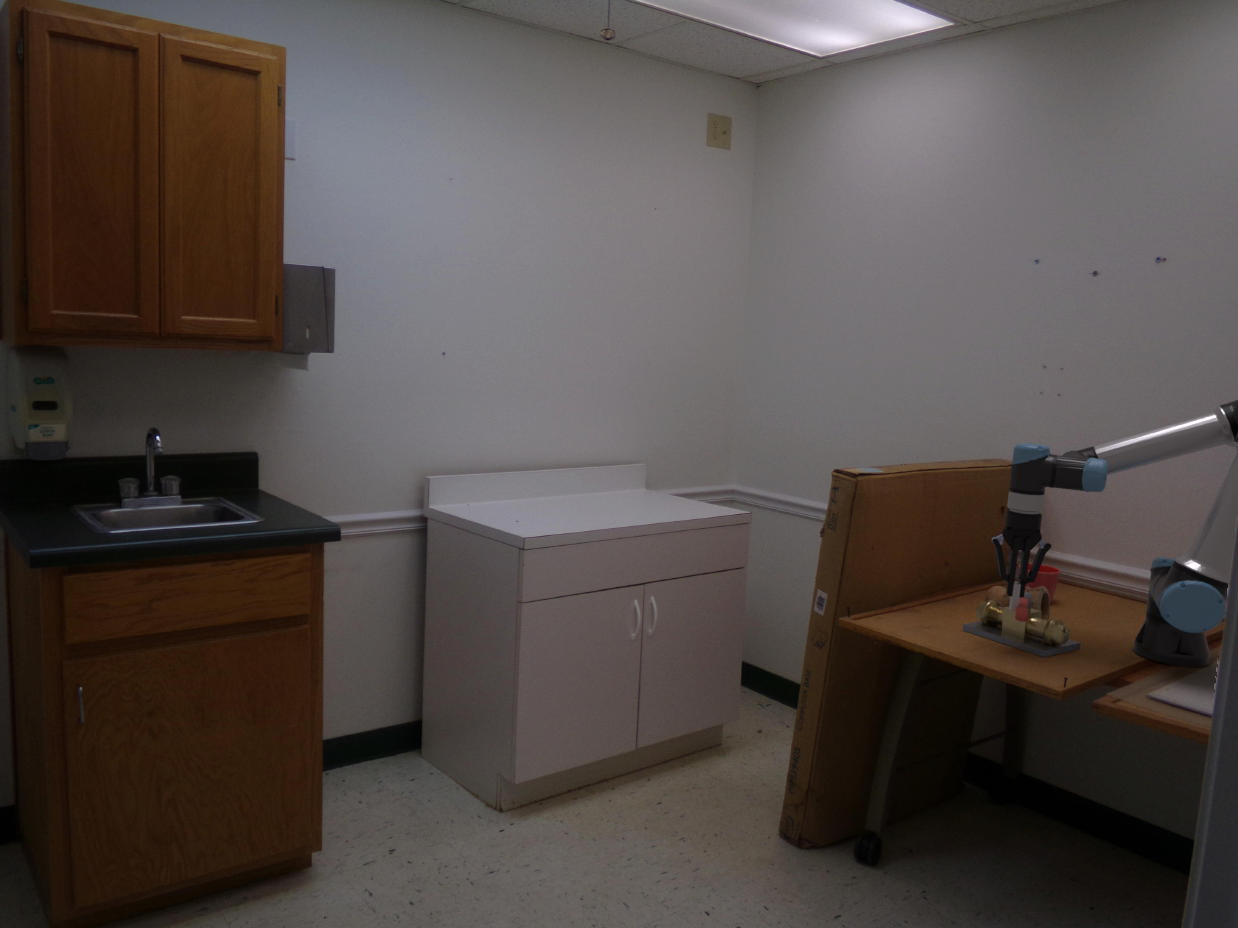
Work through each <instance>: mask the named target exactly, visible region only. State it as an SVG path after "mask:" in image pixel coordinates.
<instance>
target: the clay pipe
mask: <svg viewBox="0 0 1238 928" xmlns="http://www.w3.org/2000/svg"><path fill="white" fill-rule="evenodd" d="M1006 589H1007V588H1006V587H1003V586H1001V585H995V586H992V587H990V588H989V589H987V592H986V593H985V596H984V597H985V598H984V600H985V601H984V602H987V601H988V600H993V601H996V602H998V603H999V604H1000V607H1003V608H1004V607H1009V604H1010V596H1008V595H1007V594H1006ZM1025 592H1028V593H1031V594H1032V604H1031V608H1033V609H1036V610H1040V611H1042V612H1041V619H1044V620H1047V621H1049V620H1050V615H1051V614H1050V613H1051V604H1050V595H1049V592H1048V590H1047V588H1046V587H1044V586H1041V587H1036V588H1030V587H1025Z"/></svg>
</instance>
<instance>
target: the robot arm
mask: <svg viewBox="0 0 1238 928" xmlns="http://www.w3.org/2000/svg"><path fill="white" fill-rule="evenodd" d="M1223 445H1226V446H1229V447H1232V448H1235V450H1236V455H1235V457H1234V458H1233V461H1232V463H1230V467H1229V468H1228V470H1227V472H1226V474H1225V477H1224V479H1223V481H1222V482H1221V484H1220V485H1219V488H1218V490H1217V492H1216V494H1215V497H1214V498H1213V500H1212V503H1211V505H1210V507H1209V509H1208V511H1207V512H1206V514H1205V517H1204V518H1203V521H1202V522H1201V524H1200V527H1199V528H1198V530H1197V533H1196V534H1195V537H1194V538H1193V541H1192V542H1191V544H1190V546H1189V549H1188V550H1187V552H1186V554H1184V555H1182V556H1179V557H1175V558H1173V557H1159V556H1158V557H1155V558H1154V559H1153V560H1152V562H1151V563H1152V564H1151V567H1150V569H1149V570H1150V578H1149V587H1148V592H1147V594H1148V595H1147V603H1146V612H1145V620H1144V621H1143V623H1142V625H1141V627H1140V629H1139V631H1138V633H1137V635H1136V636H1135V639H1134V641H1133V652H1134V653H1135V654H1137V655H1139V656H1141V657H1143V658H1145V659H1148V660H1151V661H1155V662H1158V663H1161V664H1162V663H1163V664H1167V665H1172V666H1178V667H1187V668H1188V667H1189V668H1190V667H1192V668H1195V667H1196V668H1197V667H1198V668H1199V667H1205V666H1208V665H1209V664H1210V656H1211V655H1210V647H1209V645H1208V641H1207V637H1206V633H1205V632H1208V631H1210V630H1212V629H1215V628H1216V627H1217V626H1218V625H1220V623H1221V622H1222V621H1223V620H1224V617H1225V614H1226V610H1225V609H1226V607H1227V606H1226V605H1227V603H1226V600H1227V598H1228V596H1227V588H1228V581H1229V572H1230V567H1231V558H1232V553H1233V547H1234V539H1235V527H1236V517H1237V514H1238V399H1236V400H1233V401H1231V402H1226V403H1223V404H1220V405H1216V407H1215V408H1214V410H1213V411H1211V412H1208V413H1205V414H1201V415H1198V416H1194V417H1191V418H1187V419H1184V420H1180V421H1177V422H1173V423H1170V424H1166V425H1163V426H1159V427H1155V428H1152V429H1149V430H1145V431H1142V432H1138V433H1134V434H1131V435H1128V436H1124V437H1120V438H1117V439H1113V440H1109V441H1107V442H1102V443H1100V444H1095V445H1093V446H1089V447H1085V448H1082V449H1079V450H1078V449H1077V450H1070V451H1067V452H1064V453H1063V454H1062V455H1058V454H1052V453H1051V451H1050V447H1049V445H1046V444H1041V443H1040V444H1038V443H1028V442H1027V443H1025V442H1021V443H1018V444H1016V445H1015V446H1014V448H1013V454H1012V460H1011V465H1010V466H1011V467H1010V475H1009V476H1010V477H1009V478H1010V479H1009V489H1008V497H1007V503H1006V506H1007V508H1008V509H1007V510H1006V512H1005V524H1004V529H1002V531H1001V534H999V535H997V536H992V537H991V538H990V541H991V542H992V544H993V545H994V546H993V547H994V549H995V554H996V555H995V556H996V561H997V569H998V575H999V577H1000V578H1001V580H1004V581H1006V588H1005V589H1006V594H1007V595H1008V596H1010V604H1009V609H1010V610H1011V611H1014V612H1016V608H1017V607H1018V605H1019V597H1024V594H1025V585H1026V584H1027V583H1030V582H1032V583H1033V582H1034V581H1035V579H1036V577H1037V574H1038V572H1039V569H1040V567H1041V565H1043V562H1044V559H1045V556H1046V554H1047V553H1048V551H1049V550H1051V548H1052V544H1051V543H1050V542H1049V541H1046V540H1044V539H1043V535H1042V532H1041V527H1042V519H1043V514H1042V513H1041V512H1042V511H1043V509H1044V502H1045V500H1044V499H1045V492H1046V488H1051V489H1053V488H1054V489H1060V490H1061V489H1063V490H1071V491H1080V492H1085V493H1091V492H1092V493H1102V492H1103V491H1104V490H1105V489H1106V485H1107V479H1108V476H1110V475H1113V474H1117V473H1122V472H1124V471H1129V470H1132V469H1133V470H1134V469H1136V468H1140V467H1144V466H1145V467H1146V466H1148V465H1151V464H1152V465H1153V464H1155V463H1159V462H1163V461H1167V460H1171V459H1174V458H1177V457H1181V456H1186V455H1190V454H1194V453H1196V452H1201V451H1204V450H1209V449H1212V448H1216V447H1220V446H1223ZM1004 541H1005V542H1006V544H1007V546H1008V547H1009V558H1008V568H1007V570H1006V564H1005V563H1006V562H1005V557H1004V556H1005V555H1004V551H1003V544H1004ZM1036 546H1037V547H1038V549H1037V552H1036V553H1035V556H1034V559H1033V561H1032V563H1031V564H1032V566H1031V569H1030V571H1029V574H1028V576H1027V572H1028V563H1029V561H1030V557H1031V550H1033V549H1034V548H1035V547H1036ZM1019 551H1021V554H1020V555H1021V556H1020V564H1019V565H1020V572H1019V571H1018V581H1016V573H1017V572H1016V571H1017V564H1018V563H1017V562H1018V555H1019Z"/></svg>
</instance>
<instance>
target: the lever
mask: <svg viewBox="0 0 1238 928" xmlns="http://www.w3.org/2000/svg"><path fill="white" fill-rule="evenodd" d="M1031 604H1032V594H1031V593H1028V592H1025V594H1024V597H1019V605H1018V607H1017V608H1016V615H1015V620H1018V621H1023V622H1026V621H1028V611H1029V610H1031Z"/></svg>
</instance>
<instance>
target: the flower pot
mask: <svg viewBox="0 0 1238 928" xmlns="http://www.w3.org/2000/svg"><path fill="white" fill-rule="evenodd" d="M1032 564H1033V563H1028V572H1027V576H1028V574H1029V571H1030V569H1031V566H1032ZM1019 572H1020V564H1018V573H1019ZM1060 576H1061V570H1060V569H1059V568H1057V567H1054V566H1051V565H1046V564H1041V567H1040V569H1039V572H1038V574H1037V577H1036V579H1035V581H1034V582H1033V583H1032V582H1030V583H1027V584H1026V585H1025V587H1030V588H1036V587H1041V586H1044V587H1046V588H1047V590H1048V592H1049V595H1050V605H1051V604H1052V601H1053V598H1054V595H1055V593H1056V589H1057V586H1058V583H1059V579H1060Z"/></svg>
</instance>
